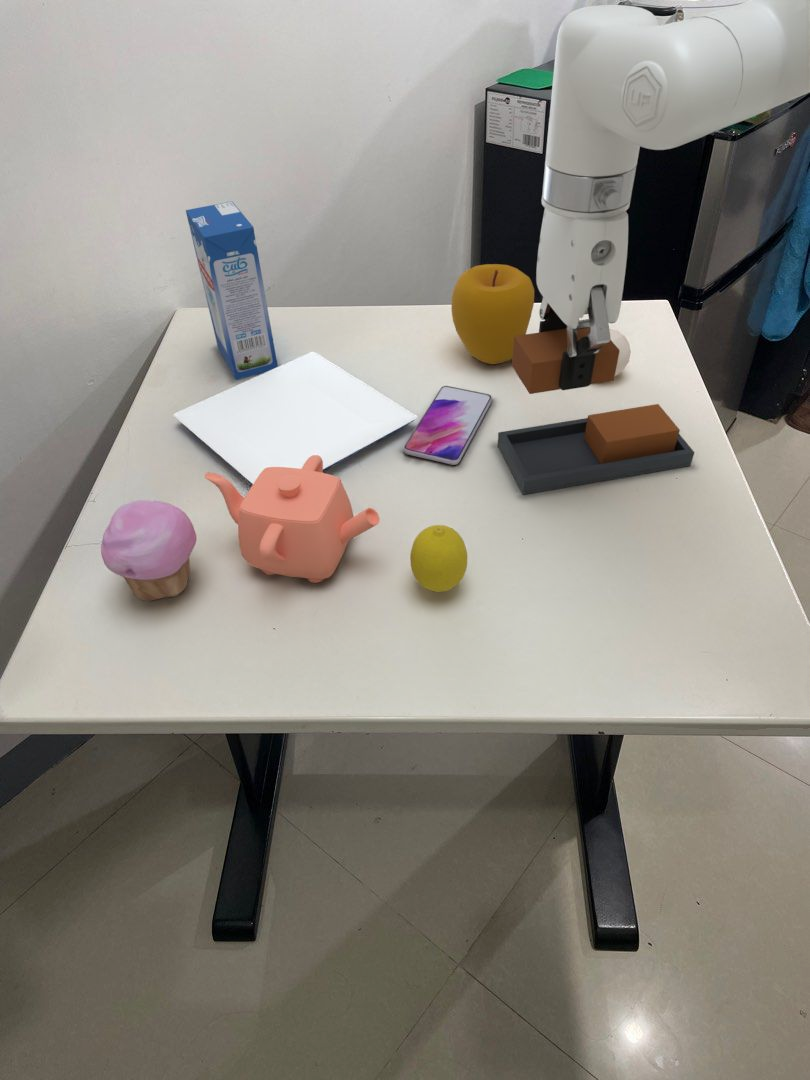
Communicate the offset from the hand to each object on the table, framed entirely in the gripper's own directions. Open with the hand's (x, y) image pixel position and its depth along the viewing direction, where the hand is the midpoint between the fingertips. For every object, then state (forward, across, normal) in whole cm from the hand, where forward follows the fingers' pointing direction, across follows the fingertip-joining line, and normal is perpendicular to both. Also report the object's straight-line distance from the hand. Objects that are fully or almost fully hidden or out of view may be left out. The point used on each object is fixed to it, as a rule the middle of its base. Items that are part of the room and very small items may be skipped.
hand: (562, 369), depth 75 cm
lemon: (+15, -13, +17) cm, 26 cm away
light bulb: (+15, +21, -14) cm, 29 cm away
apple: (+15, +28, -2) cm, 31 cm away
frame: (+14, +3, -6) cm, 16 cm away
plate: (+15, +18, +27) cm, 36 cm away
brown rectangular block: (+14, +3, -11) cm, 18 cm away
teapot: (+15, -5, +30) cm, 33 cm away
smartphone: (+14, +13, +8) cm, 21 cm away
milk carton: (+15, +37, +32) cm, 51 cm away
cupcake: (+15, -6, +44) cm, 46 cm away
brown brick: (0, 0, 0) cm, 0 cm away
